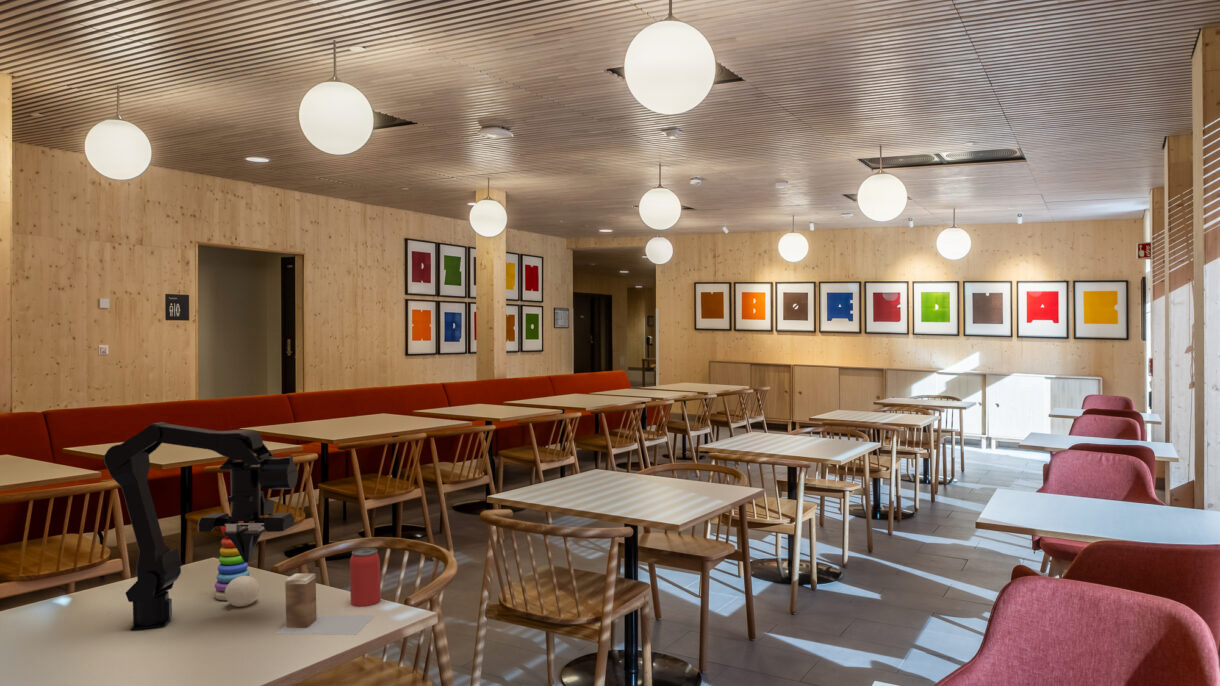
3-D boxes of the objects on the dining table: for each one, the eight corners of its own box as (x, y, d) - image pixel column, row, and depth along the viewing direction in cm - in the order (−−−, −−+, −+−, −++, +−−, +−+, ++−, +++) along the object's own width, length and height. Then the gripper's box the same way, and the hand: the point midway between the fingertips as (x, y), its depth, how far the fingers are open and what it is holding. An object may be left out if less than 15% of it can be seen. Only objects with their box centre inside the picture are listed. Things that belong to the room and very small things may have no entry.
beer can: (386, 600, 186) (385, 548, 186) (367, 610, 180) (365, 556, 180) (364, 597, 189) (363, 545, 188) (344, 606, 183) (343, 553, 182)
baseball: (233, 600, 188) (232, 572, 187) (264, 600, 187) (263, 572, 187) (218, 611, 181) (217, 581, 181) (250, 611, 180) (249, 581, 180)
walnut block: (286, 627, 169) (285, 580, 169) (296, 619, 173) (295, 573, 173) (307, 627, 168) (306, 580, 168) (316, 620, 173) (315, 573, 173)
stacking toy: (242, 601, 187) (239, 521, 186) (207, 602, 187) (205, 521, 186) (257, 590, 195) (255, 513, 194) (224, 590, 195) (222, 513, 194)
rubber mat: (275, 635, 166) (275, 633, 166) (299, 616, 177) (299, 614, 176) (356, 636, 164) (356, 634, 164) (375, 617, 175) (375, 615, 175)
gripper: (304, 482, 180) (306, 551, 180) (224, 482, 181) (226, 551, 182) (281, 492, 169) (282, 566, 169) (195, 492, 170) (197, 566, 171)
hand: (247, 562), depth 173 cm, fingers closed
